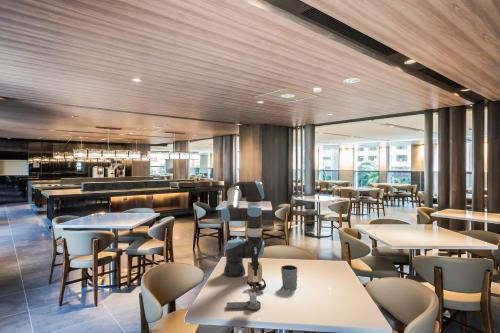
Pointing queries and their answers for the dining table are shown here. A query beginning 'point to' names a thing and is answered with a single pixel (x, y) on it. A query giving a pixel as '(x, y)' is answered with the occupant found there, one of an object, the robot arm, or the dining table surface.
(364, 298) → the dining table surface
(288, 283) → the grey green cup
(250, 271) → the hollow square tube
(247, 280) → the ring-shaped clay flask
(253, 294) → the grey handled bowl
